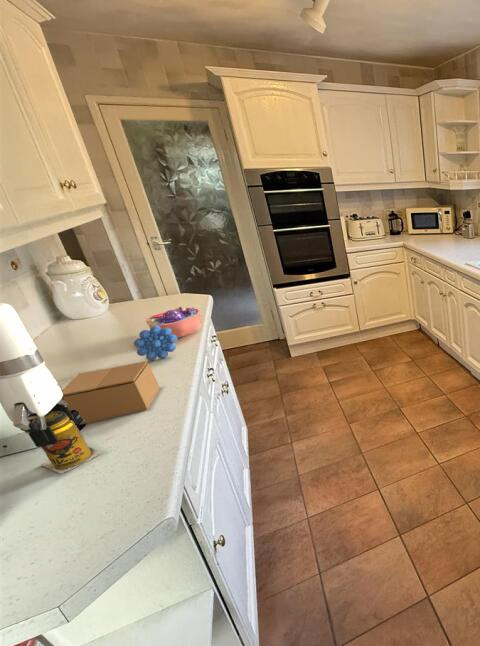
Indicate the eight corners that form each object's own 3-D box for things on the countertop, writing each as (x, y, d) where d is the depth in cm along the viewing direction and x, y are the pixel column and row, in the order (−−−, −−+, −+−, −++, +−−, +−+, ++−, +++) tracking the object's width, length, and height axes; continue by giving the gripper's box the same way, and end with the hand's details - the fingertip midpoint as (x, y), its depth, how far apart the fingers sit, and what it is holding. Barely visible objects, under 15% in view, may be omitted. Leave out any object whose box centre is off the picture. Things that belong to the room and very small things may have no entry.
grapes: (184, 349, 144) (172, 319, 139) (183, 356, 139) (170, 324, 134) (143, 358, 138) (129, 326, 133) (140, 365, 133) (125, 333, 128)
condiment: (62, 474, 85) (33, 429, 81) (41, 465, 88) (12, 421, 83) (103, 453, 92) (79, 410, 87) (82, 445, 95) (58, 403, 90)
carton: (74, 426, 102) (56, 395, 98) (93, 401, 112) (78, 373, 109) (147, 409, 108) (133, 380, 104) (159, 387, 119) (147, 360, 115)
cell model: (208, 322, 169) (199, 297, 164) (204, 338, 153) (194, 311, 148) (158, 331, 161) (147, 305, 156) (149, 349, 145) (136, 320, 140)
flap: (57, 396, 98) (56, 395, 98) (79, 374, 109) (78, 373, 109) (96, 389, 101) (95, 387, 101) (114, 368, 112) (113, 367, 112)
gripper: (12, 351, 85) (53, 418, 93) (-42, 387, 71) (11, 463, 78) (59, 343, 89) (95, 409, 96) (16, 377, 74) (62, 451, 82)
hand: (57, 433), depth 87 cm, fingers open, 7 cm apart
